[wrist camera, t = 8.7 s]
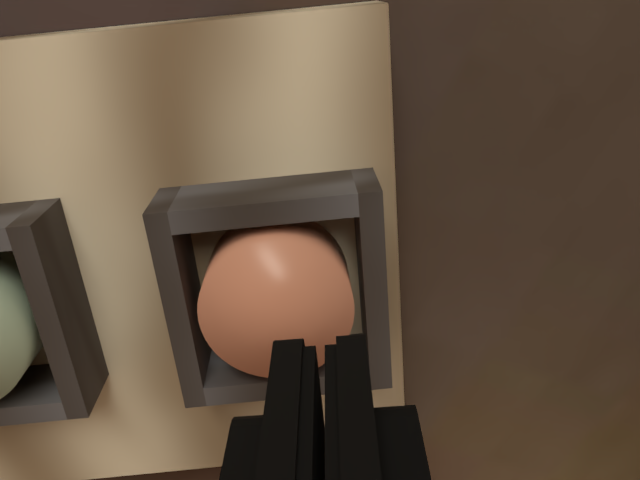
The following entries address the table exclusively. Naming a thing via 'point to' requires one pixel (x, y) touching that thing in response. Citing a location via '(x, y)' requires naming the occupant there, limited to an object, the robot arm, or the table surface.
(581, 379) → the table surface
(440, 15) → the table surface
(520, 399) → the table surface
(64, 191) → the button panel
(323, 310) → the terracotta button
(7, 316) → the sage button
